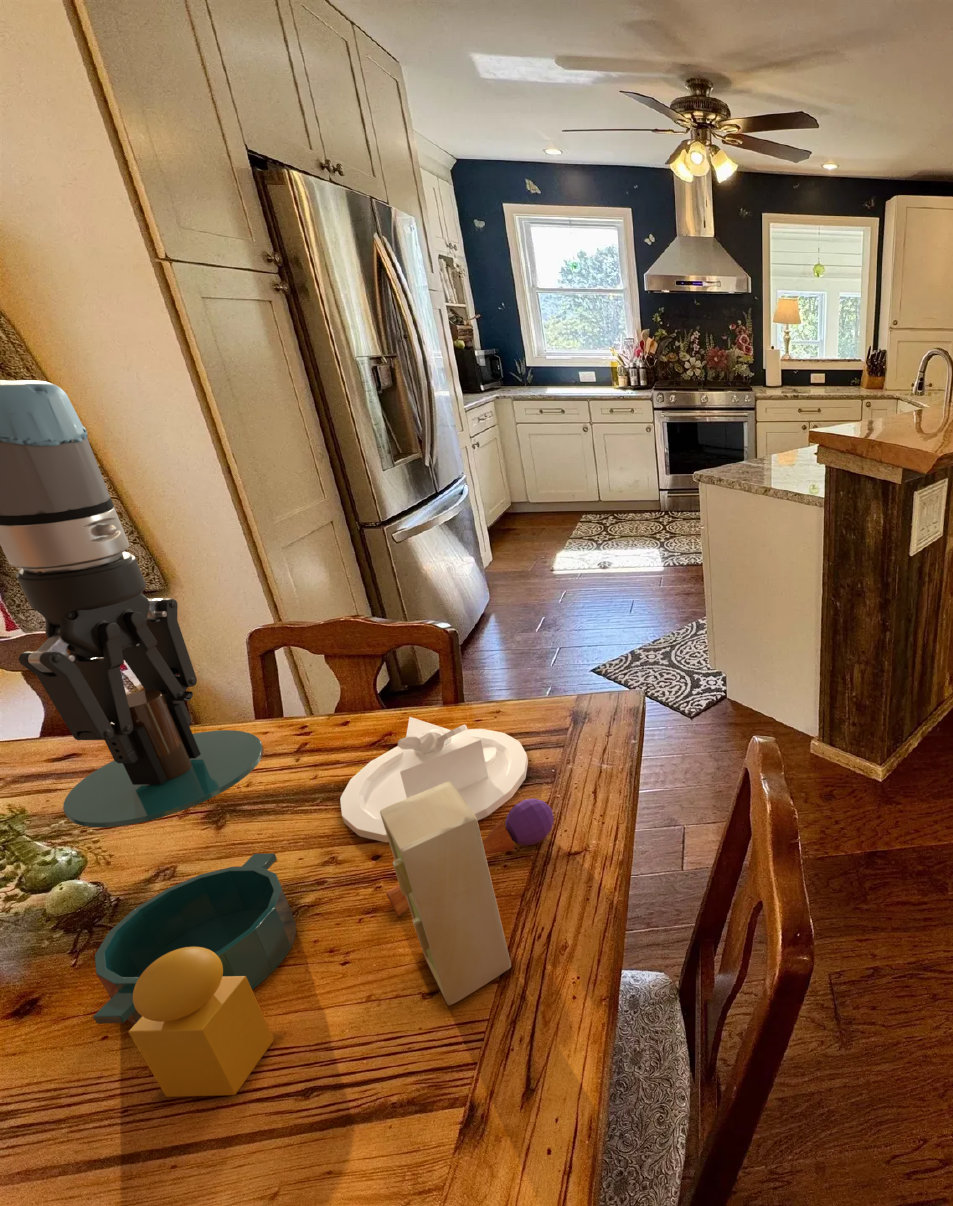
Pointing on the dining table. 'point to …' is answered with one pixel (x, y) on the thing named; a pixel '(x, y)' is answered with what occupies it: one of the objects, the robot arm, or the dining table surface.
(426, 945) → the toy refrigerator
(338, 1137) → the dining table surface
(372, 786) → the dish
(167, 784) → the lid
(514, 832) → the kendama
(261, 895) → the pot
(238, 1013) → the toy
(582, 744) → the dining table surface
